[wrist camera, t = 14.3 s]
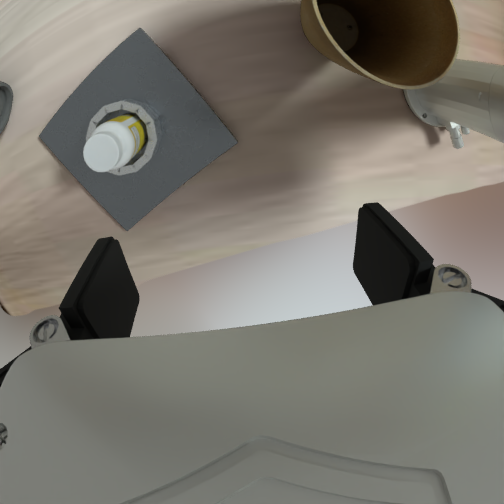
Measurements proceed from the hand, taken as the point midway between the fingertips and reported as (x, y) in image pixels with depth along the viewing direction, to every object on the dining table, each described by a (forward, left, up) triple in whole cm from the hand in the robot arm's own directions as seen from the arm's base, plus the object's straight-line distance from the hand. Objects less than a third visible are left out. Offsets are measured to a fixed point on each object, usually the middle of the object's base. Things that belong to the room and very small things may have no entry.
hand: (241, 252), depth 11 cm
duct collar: (+8, +10, -28) cm, 31 cm away
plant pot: (+4, -19, -28) cm, 35 cm away
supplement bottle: (+8, +10, -28) cm, 30 cm away
